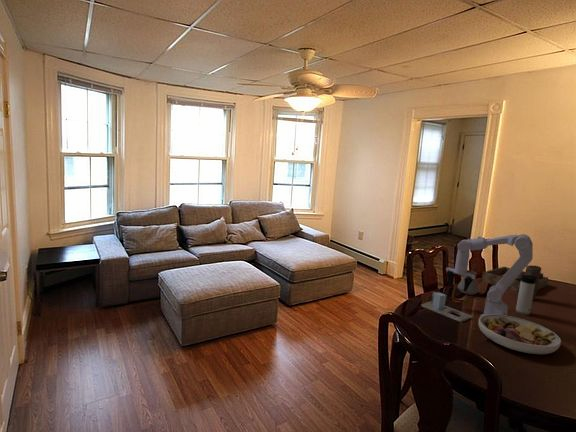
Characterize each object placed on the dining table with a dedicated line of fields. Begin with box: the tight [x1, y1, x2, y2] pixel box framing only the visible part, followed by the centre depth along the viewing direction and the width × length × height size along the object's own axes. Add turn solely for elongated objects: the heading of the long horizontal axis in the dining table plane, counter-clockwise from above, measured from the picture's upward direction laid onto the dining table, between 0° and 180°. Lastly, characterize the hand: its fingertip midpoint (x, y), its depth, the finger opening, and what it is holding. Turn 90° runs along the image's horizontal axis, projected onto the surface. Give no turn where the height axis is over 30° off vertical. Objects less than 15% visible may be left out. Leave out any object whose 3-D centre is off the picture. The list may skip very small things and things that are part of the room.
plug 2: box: [432, 292, 447, 310], centre depth 183 cm, size 4×4×8 cm
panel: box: [421, 300, 472, 323], centre depth 180 cm, size 21×10×1 cm, turn 37°
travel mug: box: [515, 275, 537, 316], centre depth 186 cm, size 6×7×20 cm
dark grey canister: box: [524, 264, 542, 301], centre depth 208 cm, size 8×7×20 cm
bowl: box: [477, 314, 562, 355], centre depth 155 cm, size 30×30×8 cm
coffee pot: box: [457, 263, 480, 296], centre depth 216 cm, size 21×12×15 cm, turn 144°
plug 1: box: [431, 291, 439, 301], centre depth 195 cm, size 8×4×4 cm, turn 155°
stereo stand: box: [481, 266, 549, 293], centre depth 235 cm, size 27×32×7 cm
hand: (458, 288), depth 187 cm, fingers open, 7 cm apart
